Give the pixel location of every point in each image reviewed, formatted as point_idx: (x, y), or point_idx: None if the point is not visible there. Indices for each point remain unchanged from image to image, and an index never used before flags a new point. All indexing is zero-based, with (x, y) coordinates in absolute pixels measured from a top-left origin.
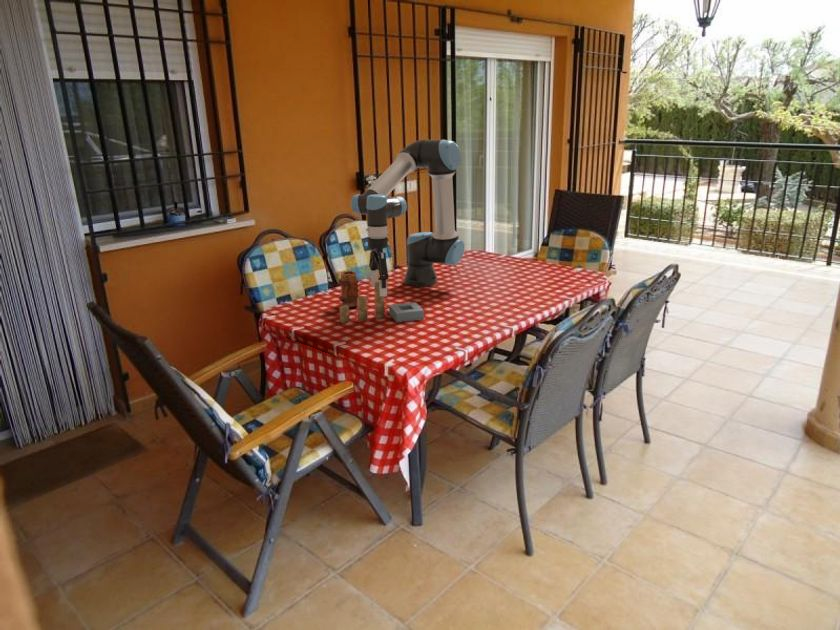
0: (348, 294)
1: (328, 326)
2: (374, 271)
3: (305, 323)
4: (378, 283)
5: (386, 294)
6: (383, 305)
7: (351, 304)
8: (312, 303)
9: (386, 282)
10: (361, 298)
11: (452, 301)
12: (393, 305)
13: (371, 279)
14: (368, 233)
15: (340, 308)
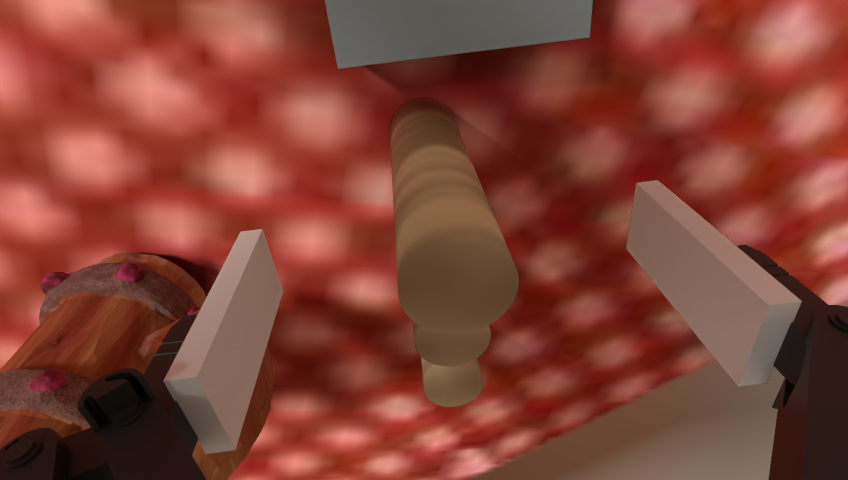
0: None
1: (489, 379)
2: (219, 408)
3: (421, 448)
4: (472, 297)
5: (664, 193)
6: (461, 144)
7: (201, 302)
8: None
9: (763, 273)
10: (478, 342)
11: None
12: (360, 26)
13: (263, 352)
14: None
15: (467, 399)
